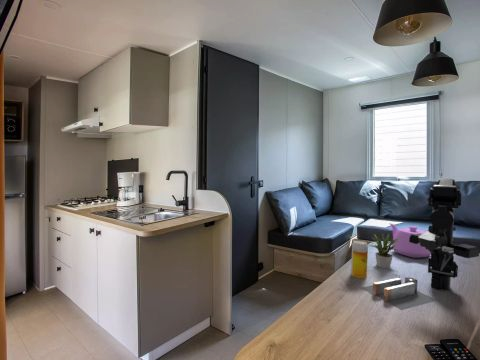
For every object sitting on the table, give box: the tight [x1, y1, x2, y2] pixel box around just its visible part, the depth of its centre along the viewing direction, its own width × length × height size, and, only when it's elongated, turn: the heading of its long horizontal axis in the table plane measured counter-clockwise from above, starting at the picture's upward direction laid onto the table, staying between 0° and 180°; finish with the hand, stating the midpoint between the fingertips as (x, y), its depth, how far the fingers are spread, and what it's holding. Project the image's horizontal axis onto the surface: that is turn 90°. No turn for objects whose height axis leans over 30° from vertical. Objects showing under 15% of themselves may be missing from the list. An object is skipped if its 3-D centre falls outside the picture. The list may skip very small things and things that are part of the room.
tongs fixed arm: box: [372, 277, 403, 297], centre depth 102 cm, size 13×1×4 cm, turn 113°
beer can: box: [350, 240, 369, 279], centre depth 117 cm, size 6×6×15 cm
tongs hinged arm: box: [383, 276, 419, 302], centre depth 100 cm, size 18×5×4 cm, turn 113°
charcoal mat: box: [360, 284, 438, 311], centre depth 101 cm, size 18×17×1 cm
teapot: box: [389, 223, 431, 259], centre depth 152 cm, size 23×21×15 cm
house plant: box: [368, 232, 402, 269], centre depth 127 cm, size 14×14×16 cm
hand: (439, 270), depth 92 cm, fingers closed
